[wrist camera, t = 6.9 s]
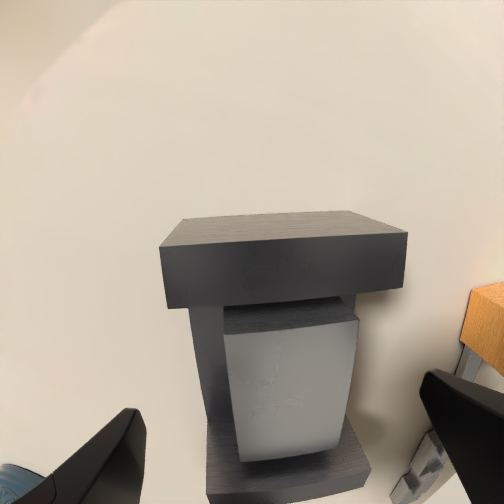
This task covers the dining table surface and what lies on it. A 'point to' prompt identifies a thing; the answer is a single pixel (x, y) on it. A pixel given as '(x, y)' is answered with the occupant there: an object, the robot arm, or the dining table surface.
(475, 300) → the orange headed key
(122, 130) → the dining table surface
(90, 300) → the dining table surface
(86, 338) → the dining table surface
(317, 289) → the grey u-shaped bracket
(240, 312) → the grey block
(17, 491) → the canister
